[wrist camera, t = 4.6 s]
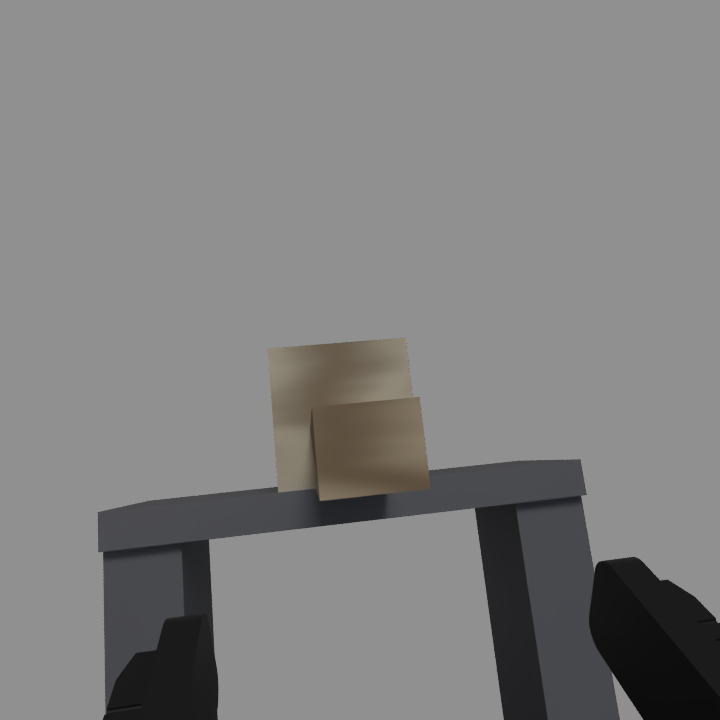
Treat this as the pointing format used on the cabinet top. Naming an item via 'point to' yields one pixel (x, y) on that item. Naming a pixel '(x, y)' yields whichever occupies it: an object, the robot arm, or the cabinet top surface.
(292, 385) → the wooden mallet
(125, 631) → the wooden stand
